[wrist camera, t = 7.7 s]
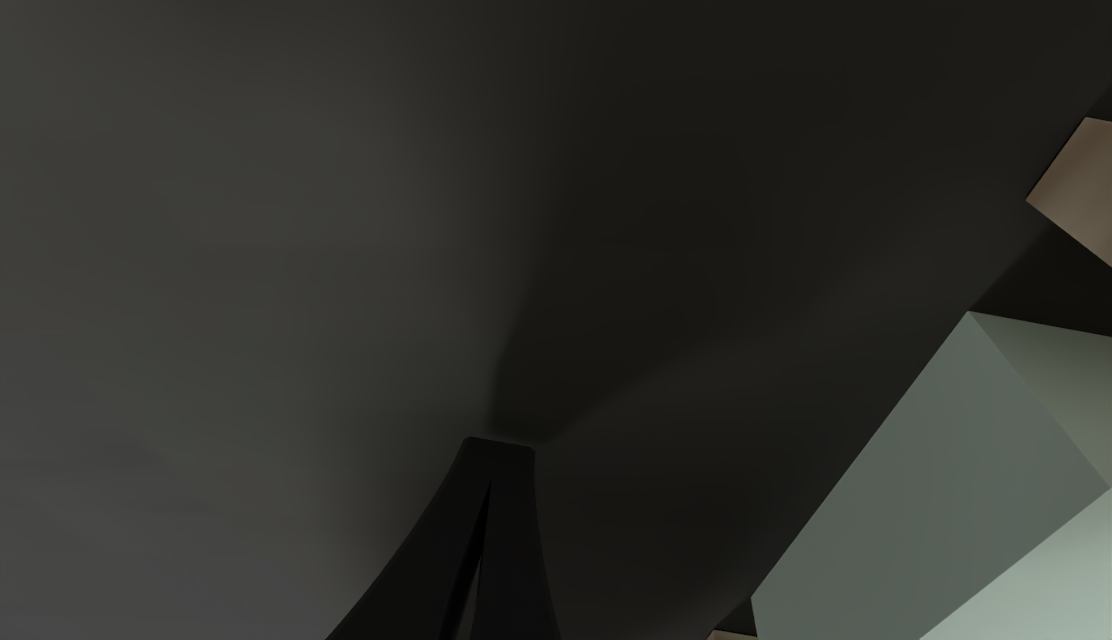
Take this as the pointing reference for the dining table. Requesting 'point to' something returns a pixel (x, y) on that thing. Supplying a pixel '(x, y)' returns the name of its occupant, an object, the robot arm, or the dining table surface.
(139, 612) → the dining table surface
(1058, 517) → the tee
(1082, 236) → the dock
